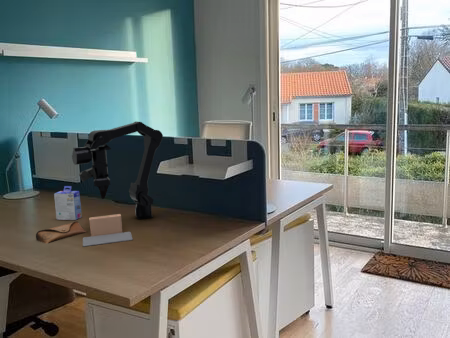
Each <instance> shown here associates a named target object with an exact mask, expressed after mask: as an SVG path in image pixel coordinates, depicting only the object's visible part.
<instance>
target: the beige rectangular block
mask: <svg viewBox="0 0 450 338" xmlns="http://www.w3.org/2000/svg"><path fill="white" fill-rule="evenodd" d="M121 214H122V213H117V214H109V215H100V216H92V217H89V218H88V219H89V227H90V228H89V229H90V237H91V236H99V235H107V234H115V233H123V223H122V215H121Z"/></svg>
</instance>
